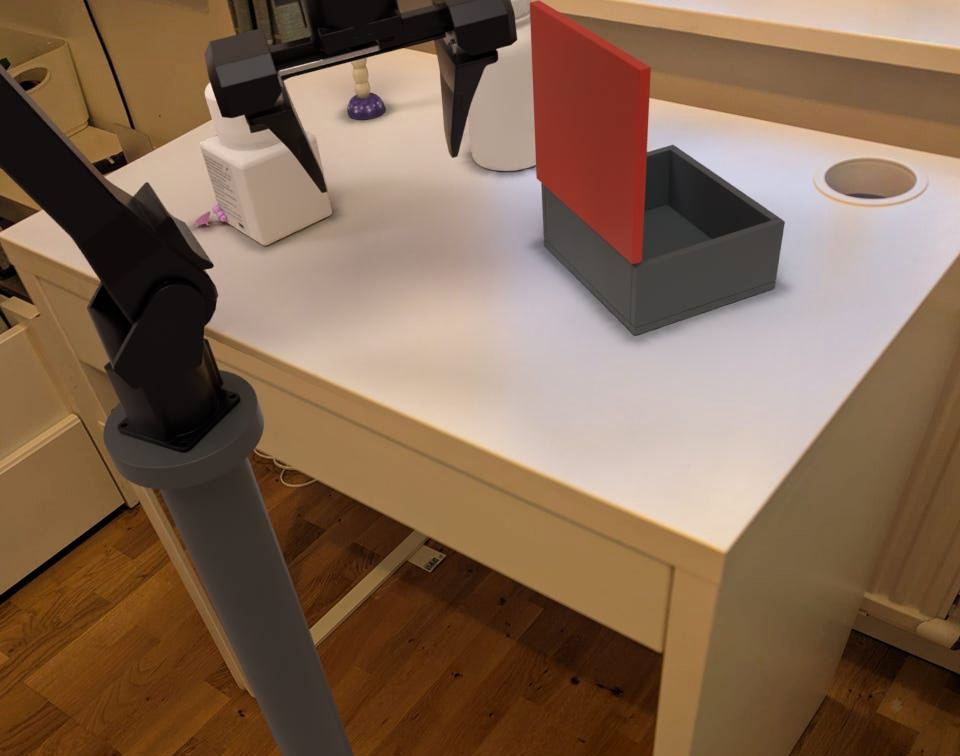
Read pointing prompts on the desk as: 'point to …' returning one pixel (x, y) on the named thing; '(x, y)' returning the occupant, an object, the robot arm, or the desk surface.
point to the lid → (591, 126)
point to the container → (260, 179)
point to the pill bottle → (506, 104)
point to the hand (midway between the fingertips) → (388, 172)
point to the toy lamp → (363, 95)
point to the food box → (673, 246)
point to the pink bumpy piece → (204, 218)
